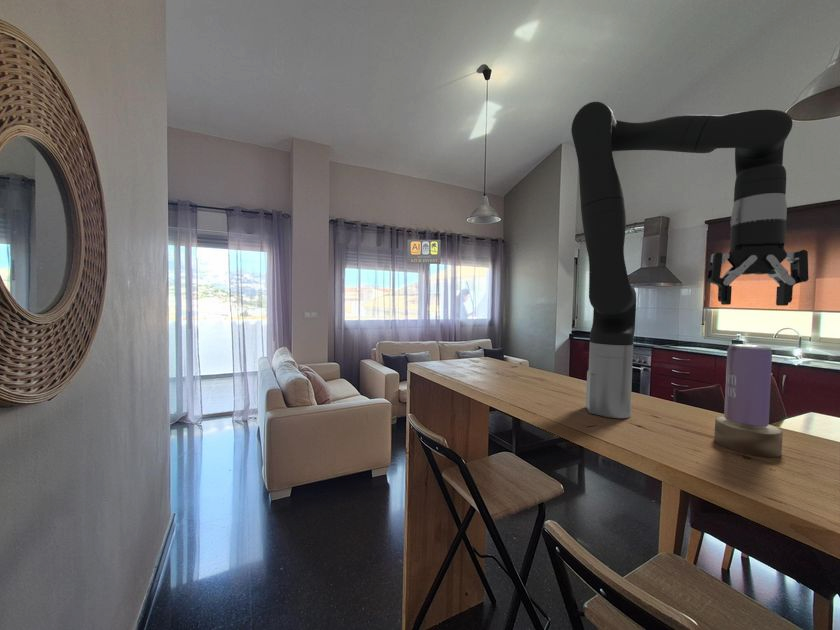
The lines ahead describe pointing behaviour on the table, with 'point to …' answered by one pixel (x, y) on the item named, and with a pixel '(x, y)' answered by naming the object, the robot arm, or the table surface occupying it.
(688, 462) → the table surface
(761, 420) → the beverage can
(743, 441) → the plinth
